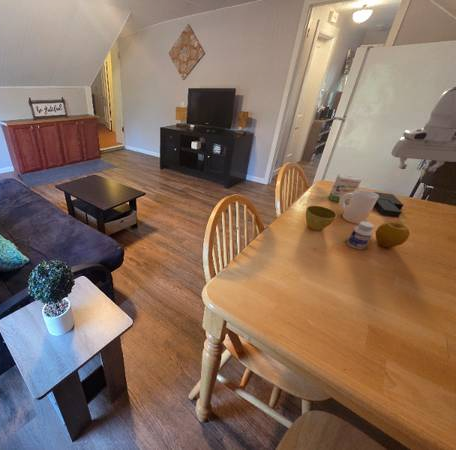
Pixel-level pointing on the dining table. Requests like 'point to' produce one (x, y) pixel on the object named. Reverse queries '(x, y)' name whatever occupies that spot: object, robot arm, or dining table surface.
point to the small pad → (387, 208)
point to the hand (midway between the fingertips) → (416, 169)
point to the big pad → (390, 199)
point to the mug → (358, 205)
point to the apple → (391, 234)
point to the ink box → (344, 187)
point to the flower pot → (319, 217)
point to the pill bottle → (361, 235)
